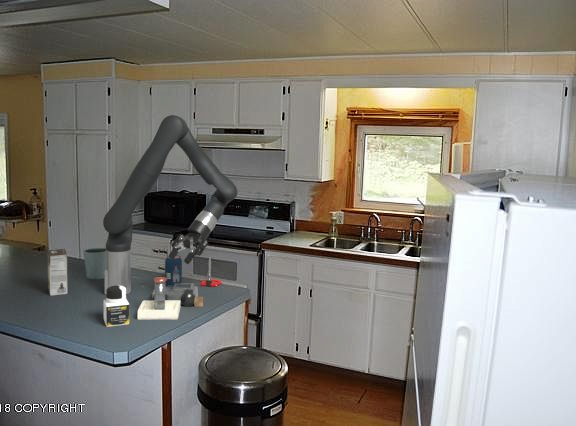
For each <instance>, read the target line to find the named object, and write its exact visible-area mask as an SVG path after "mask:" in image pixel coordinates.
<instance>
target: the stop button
mask: <svg viewBox="0 0 576 426" xmlns="http://www.w3.org/2000/svg"><path fill="white" fill-rule="evenodd" d="M165 282H166V278H165V276H155V277H154V278H153V283H154V289H155V300H154V310H165V286H166V283H165Z"/></svg>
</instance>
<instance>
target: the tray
mask: <svg viewBox="0 0 576 426" xmlns="http://www.w3.org/2000/svg"><path fill="white" fill-rule="evenodd" d="M180 311H181V300H165V310H154V300H152V299H150V300H149V299H147V300H145V299H144V300H142V302H141V304H140V305H139V307H138V309H137V320H145V321H146V320H148V321H149V320H178V319H179V316H180Z"/></svg>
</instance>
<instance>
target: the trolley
mask: <svg viewBox="0 0 576 426" xmlns="http://www.w3.org/2000/svg"><path fill="white" fill-rule="evenodd" d="M198 288H199V287H198V286H195V283H187V282H186V283H182V282H181V283H175V284H174V286H168V285H165V300H181V305H182V306H183V307H187V308H188V307H189V308H190V307H192V306H193V305H194V306H195V297H199V291H198ZM151 296H152V297H151V300H155V288H154V289H153V291H152V295H151Z"/></svg>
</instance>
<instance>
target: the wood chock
mask: <svg viewBox="0 0 576 426" xmlns="http://www.w3.org/2000/svg"><path fill="white" fill-rule="evenodd" d="M194 307H196V308H197V307H201V308H202V307H204V296H198V297H195V305H194Z"/></svg>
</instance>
